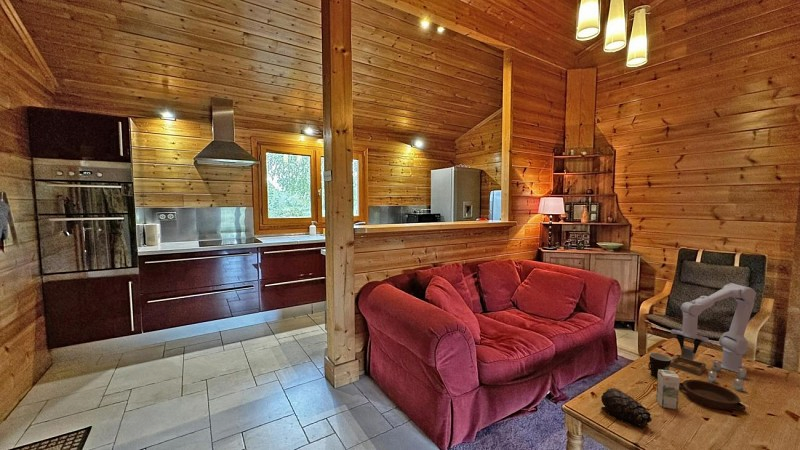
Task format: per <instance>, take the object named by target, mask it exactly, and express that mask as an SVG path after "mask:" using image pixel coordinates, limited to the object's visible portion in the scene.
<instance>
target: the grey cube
mask: <svg viewBox="0 0 800 450" xmlns="http://www.w3.org/2000/svg"><path fill="white" fill-rule="evenodd" d="M680 350H681V349H680ZM680 353H681V354H680V355H681V356H680V357H683V358H687V359H690V360H694V359H695V358H696V353H694V346H693V347H691V346H689V345H685V344H684V346H683V347H682V350H681V352H680Z"/></svg>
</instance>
